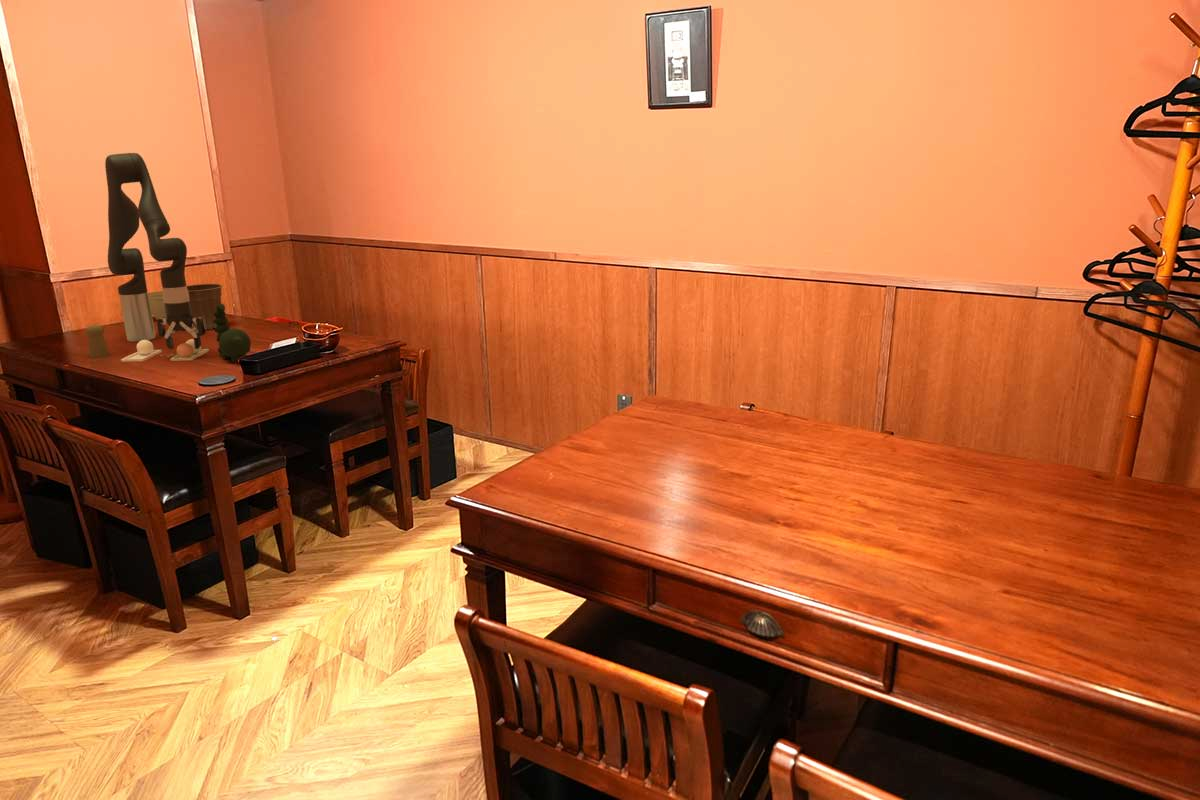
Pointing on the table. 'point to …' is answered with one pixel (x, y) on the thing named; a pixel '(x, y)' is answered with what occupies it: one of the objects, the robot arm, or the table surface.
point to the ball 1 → (145, 347)
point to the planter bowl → (157, 304)
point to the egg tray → (140, 356)
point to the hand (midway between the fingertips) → (184, 348)
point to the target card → (167, 356)
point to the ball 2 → (184, 350)
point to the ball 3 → (193, 346)
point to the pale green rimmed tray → (192, 357)
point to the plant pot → (204, 302)
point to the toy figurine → (230, 337)
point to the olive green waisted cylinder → (96, 342)
